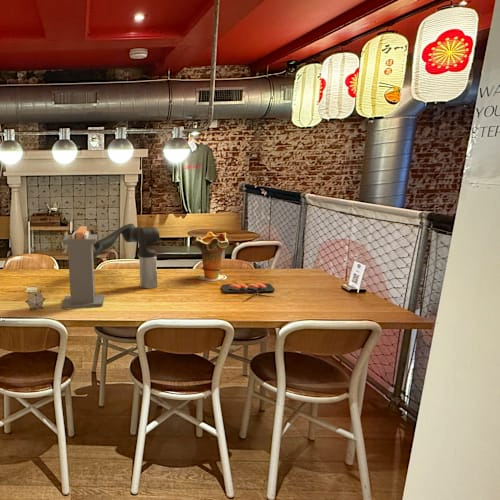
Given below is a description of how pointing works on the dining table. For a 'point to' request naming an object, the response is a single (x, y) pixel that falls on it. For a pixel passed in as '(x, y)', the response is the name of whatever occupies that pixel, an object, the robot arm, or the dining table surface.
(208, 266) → the decorative vase
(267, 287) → the sushi plate
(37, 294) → the game die
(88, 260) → the stand
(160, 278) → the dining table surface
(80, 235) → the bar
